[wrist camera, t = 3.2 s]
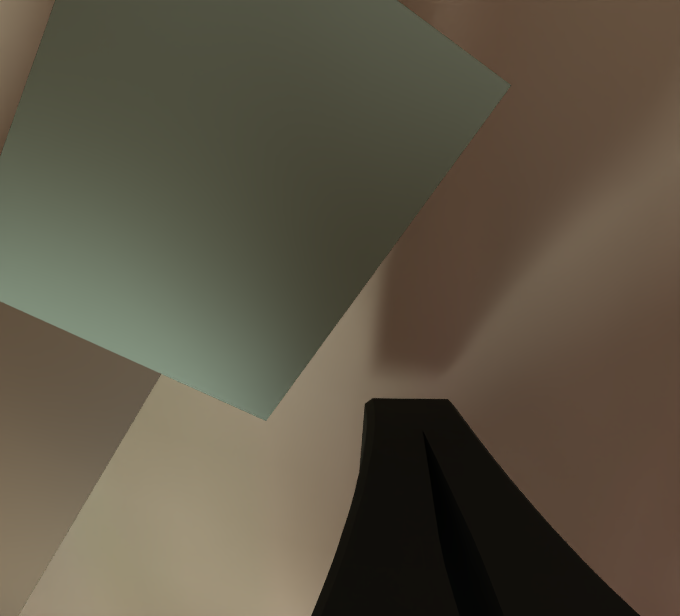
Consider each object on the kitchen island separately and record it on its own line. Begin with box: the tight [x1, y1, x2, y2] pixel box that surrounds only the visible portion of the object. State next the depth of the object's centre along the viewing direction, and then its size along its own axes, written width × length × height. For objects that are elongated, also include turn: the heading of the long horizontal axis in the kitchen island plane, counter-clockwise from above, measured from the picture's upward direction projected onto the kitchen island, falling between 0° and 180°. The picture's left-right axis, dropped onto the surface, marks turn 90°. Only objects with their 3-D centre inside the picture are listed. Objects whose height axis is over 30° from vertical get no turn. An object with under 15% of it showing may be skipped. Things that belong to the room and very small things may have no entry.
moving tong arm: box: [0, 0, 511, 616], centre depth 9 cm, size 18×3×4 cm, turn 147°
